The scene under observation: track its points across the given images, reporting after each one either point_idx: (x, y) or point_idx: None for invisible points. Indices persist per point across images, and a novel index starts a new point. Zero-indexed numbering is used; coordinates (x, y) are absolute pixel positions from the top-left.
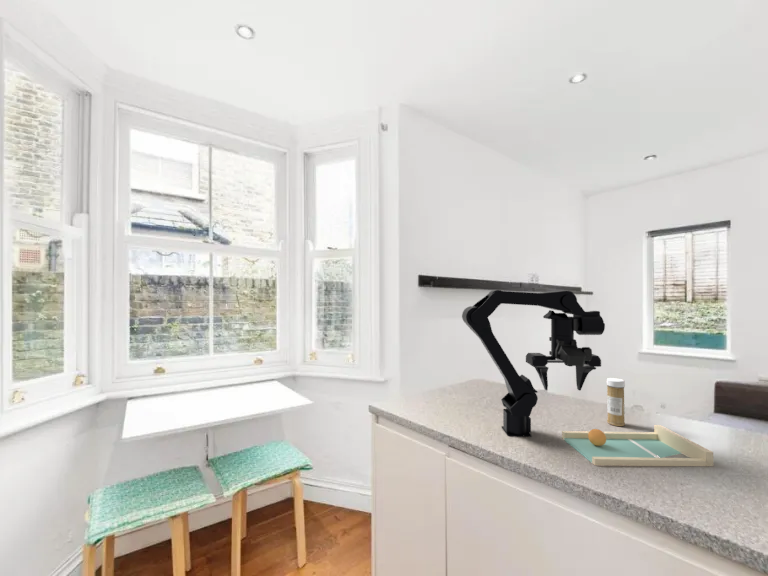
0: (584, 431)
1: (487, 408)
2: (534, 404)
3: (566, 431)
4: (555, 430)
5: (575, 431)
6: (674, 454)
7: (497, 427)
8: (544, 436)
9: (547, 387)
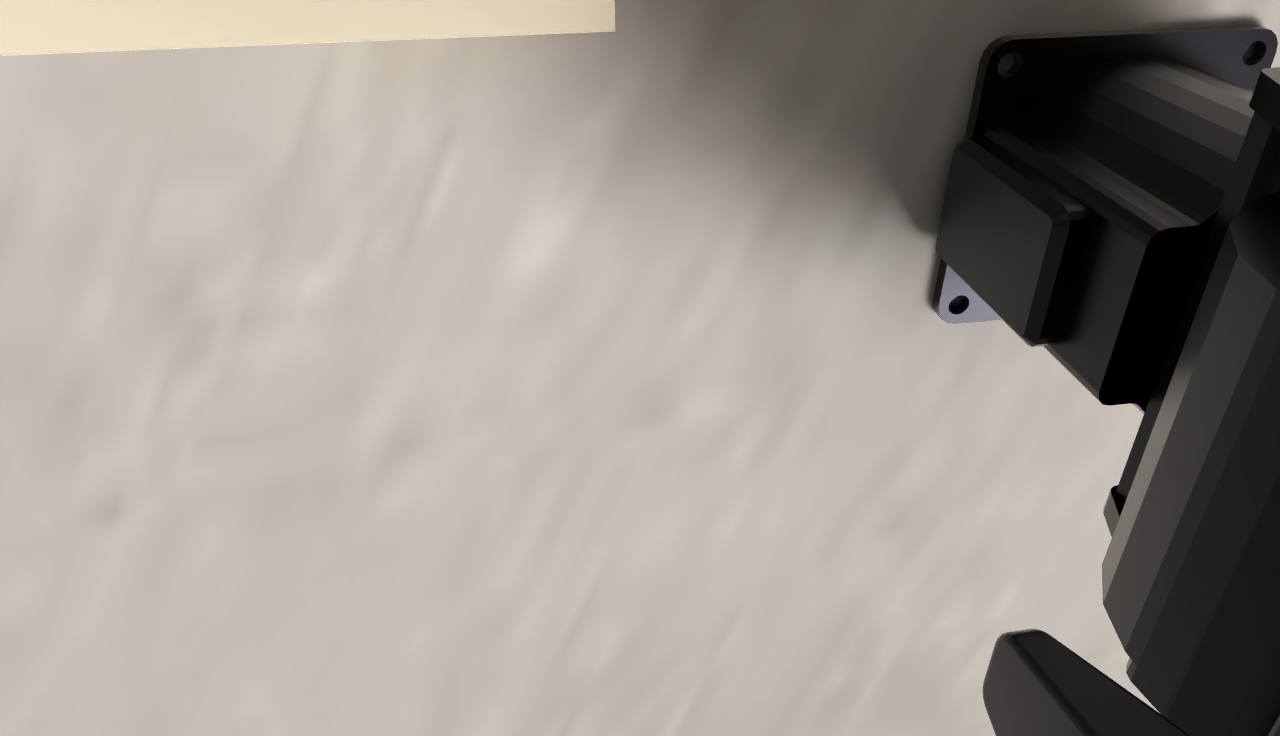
0: (239, 38)
1: None
2: (1256, 239)
3: (552, 15)
4: (573, 277)
5: (399, 26)
6: None
7: None
8: (813, 63)
9: (1052, 684)
